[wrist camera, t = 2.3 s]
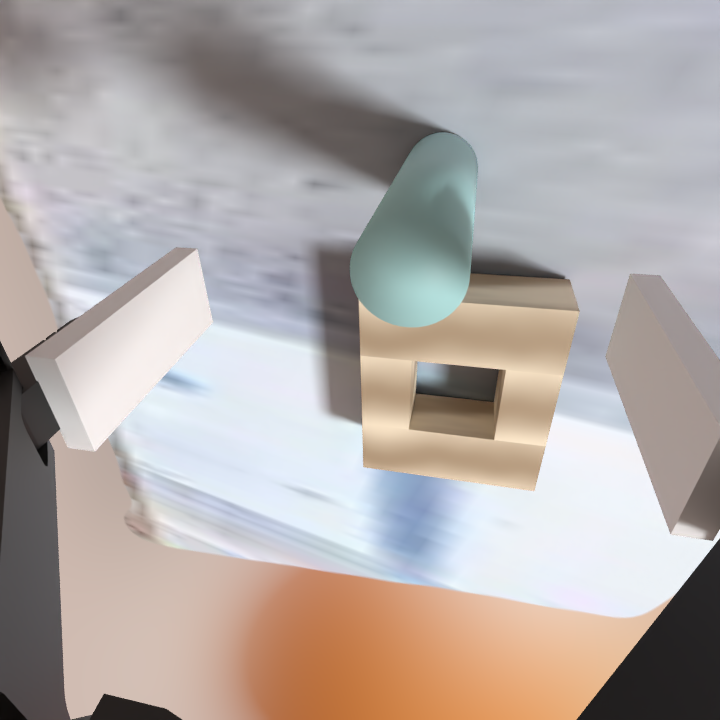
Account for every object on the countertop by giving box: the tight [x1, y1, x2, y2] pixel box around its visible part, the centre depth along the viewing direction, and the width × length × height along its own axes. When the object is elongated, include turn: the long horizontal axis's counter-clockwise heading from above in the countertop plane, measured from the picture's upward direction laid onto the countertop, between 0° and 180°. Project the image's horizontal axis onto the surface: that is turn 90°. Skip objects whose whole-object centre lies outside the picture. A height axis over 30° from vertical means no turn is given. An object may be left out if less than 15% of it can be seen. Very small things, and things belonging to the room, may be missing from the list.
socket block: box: [359, 273, 580, 491], centre depth 33 cm, size 14×12×4 cm
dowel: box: [350, 132, 478, 327], centre depth 22 cm, size 4×4×14 cm
